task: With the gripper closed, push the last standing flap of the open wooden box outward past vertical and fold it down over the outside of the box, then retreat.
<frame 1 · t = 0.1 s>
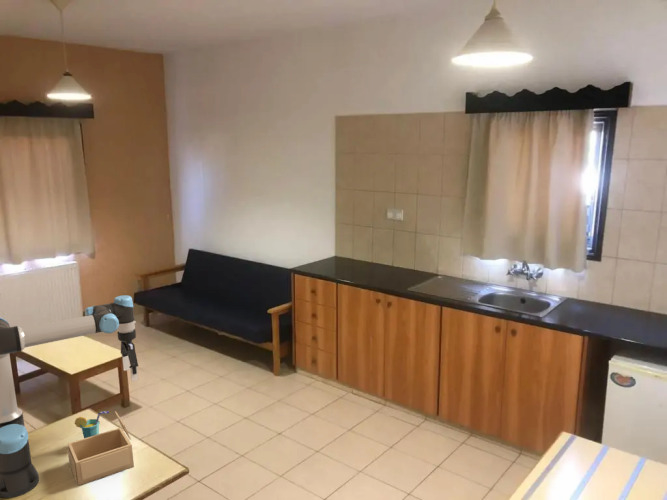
hand: (130, 375, 242), 28 cm above the table, fingers open, 13 cm apart
cup: (94, 445, 238), on the table
flap: (122, 425, 224), point 15 cm above the table, hinge at 75.0°
open wooden box: (102, 466, 222), on the table
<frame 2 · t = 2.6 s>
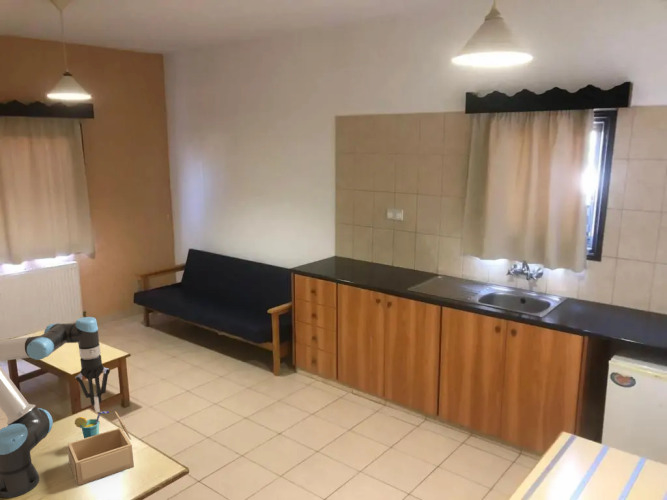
hand: (97, 410, 217), 25 cm above the table, fingers closed
nothing on the table moved.
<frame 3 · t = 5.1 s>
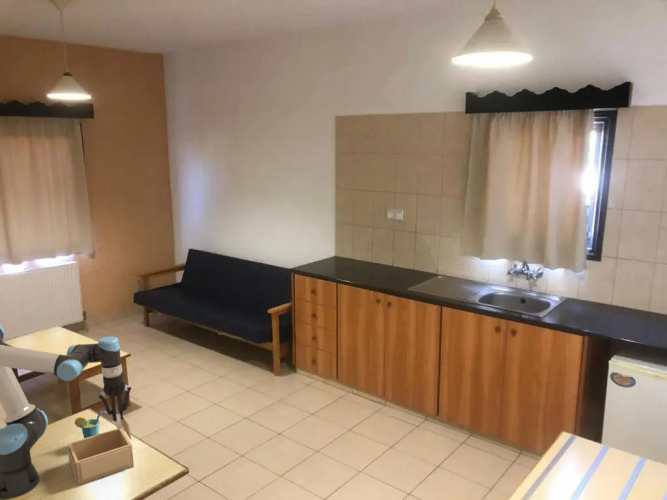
hand: (119, 427, 223), 15 cm above the table, fingers closed
flap: (125, 424, 225), point 15 cm above the table, hinge at 86.0°, touching gripper
everything else where it was.
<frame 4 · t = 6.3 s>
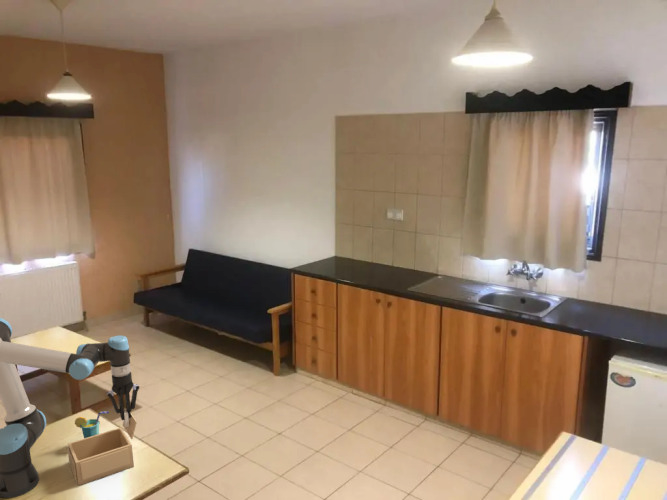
hand: (126, 425, 225), 14 cm above the table, fingers closed
flap: (129, 423, 226), point 15 cm above the table, hinge at 108.7°, touching gripper
everything else where it was.
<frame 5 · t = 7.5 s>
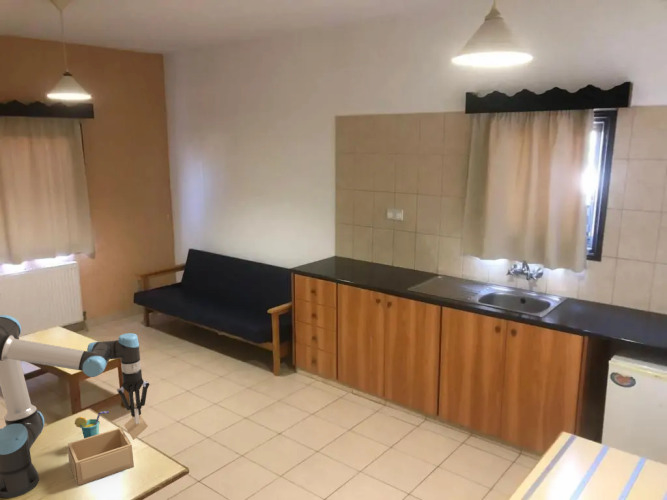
hand: (136, 422, 228), 15 cm above the table, fingers closed
flap: (135, 425, 228), point 13 cm above the table, hinge at 146.6°, touching gripper
everything else where it was.
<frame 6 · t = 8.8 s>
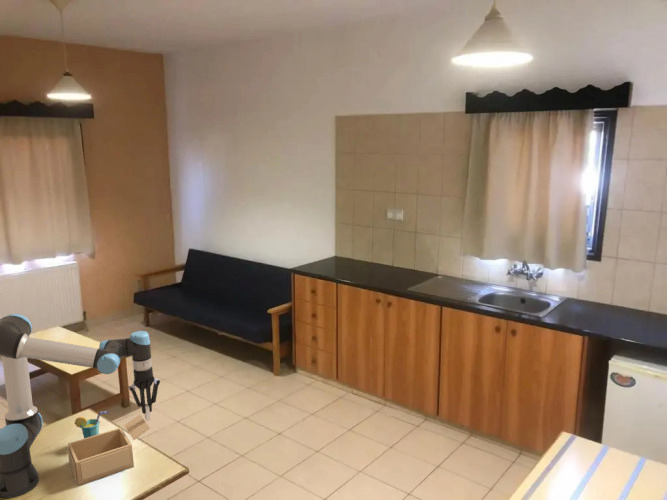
hand: (147, 419, 230), 14 cm above the table, fingers closed
flap: (136, 426, 228), point 13 cm above the table, hinge at 155.9°
everything else where it was.
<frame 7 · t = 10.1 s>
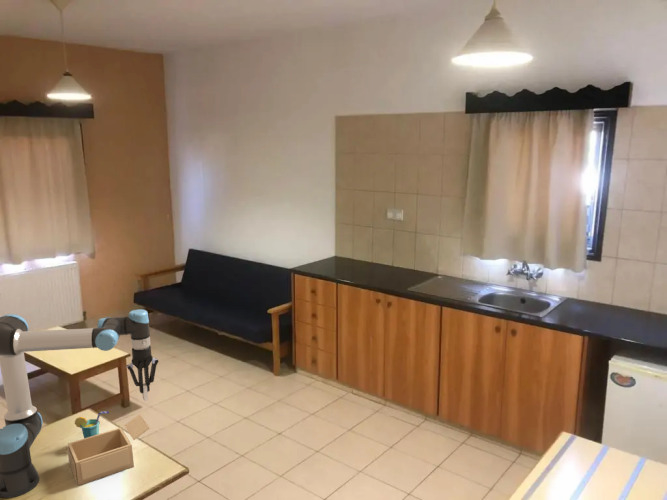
hand: (145, 399, 228), 24 cm above the table, fingers closed
nothing on the table moved.
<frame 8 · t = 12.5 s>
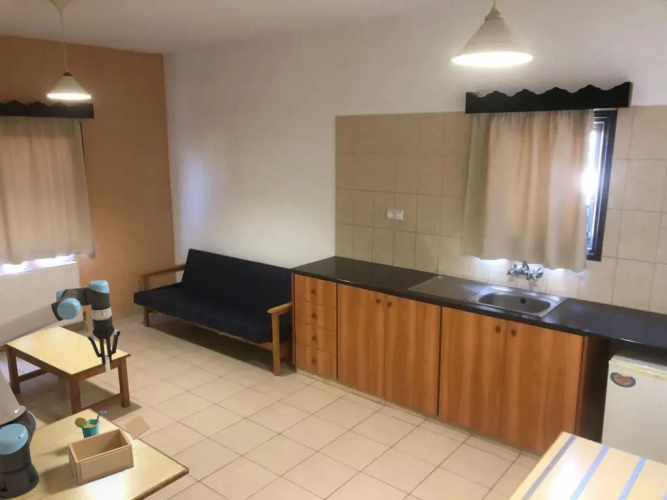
hand: (107, 370, 227), 36 cm above the table, fingers closed
nothing on the table moved.
at the end: flap at +156° (first picture: +75°) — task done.
